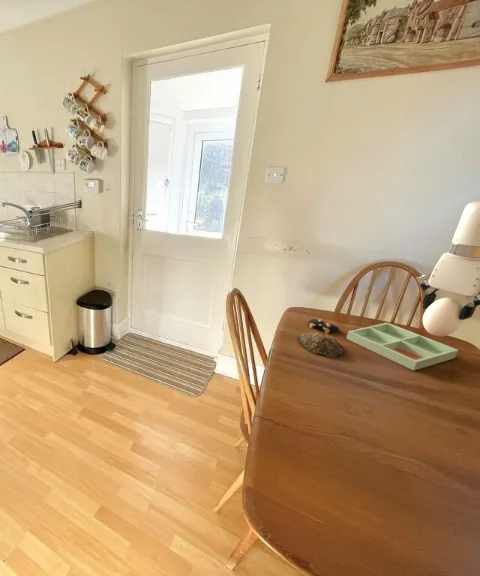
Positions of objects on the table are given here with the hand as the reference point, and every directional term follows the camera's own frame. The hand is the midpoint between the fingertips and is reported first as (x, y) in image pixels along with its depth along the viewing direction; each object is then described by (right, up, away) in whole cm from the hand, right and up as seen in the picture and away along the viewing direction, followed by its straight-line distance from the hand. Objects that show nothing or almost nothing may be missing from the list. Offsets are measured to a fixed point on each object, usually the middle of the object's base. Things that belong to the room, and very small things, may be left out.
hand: (444, 312), depth 87 cm
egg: (0, -7, +3) cm, 7 cm away
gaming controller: (-9, -10, +35) cm, 38 cm away
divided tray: (+7, -14, +21) cm, 27 cm away
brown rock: (-18, -15, +23) cm, 33 cm away
